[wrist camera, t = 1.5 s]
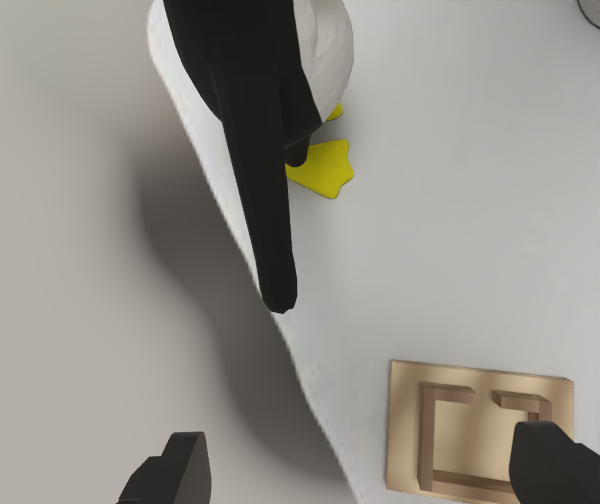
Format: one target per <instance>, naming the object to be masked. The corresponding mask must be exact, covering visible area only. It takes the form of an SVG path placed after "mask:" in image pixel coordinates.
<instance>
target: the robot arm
mask: <svg viewBox="0 0 600 504" xmlns="http://www.w3.org/2000/svg"><path fill="white" fill-rule="evenodd" d="M579 2H580V6H581V9H582V10H583V12H584V14H585V15H586V17H587V18H588V19H589V20H590V21H591V22H592V23H594V24H595V25H597V26H599V27H600V0H579ZM509 478H510V482H511V486H512V488H513V491H514V493H515V495H516V497H517V499H518V500H519V502H520V504H600V455H598V454H597V453H595V452H594V451H592V450H591V449H589V448H588V447H586V446H585V445H583V444H582V443H575V442H574V441H573V440H572V439H571V438H570V437H569V436H568V435H567V434H566V433H565V432H564V431H563V430H562V429H561V428H560V427H559V426H558V425H557V424H556V423H554V422H552V421H549V420H548V421H520V422H517V423H516V425H515V428H514V434H513V441H512V448H511V455H510V462H509ZM210 495H211V472H210V466H209V458H208V452H207V445H206V438H205V434H204V432H175V433H173V434H172V435H171V436H170V439H169V440H168V443H167V445H166V447H165V449H164V451H163V453H162V455H161V456H153V457H149V458H148V459H147V460H146V461H145V462H144V463H143V464H142V465H141V466H140V467H139V468H138V469H137V470H136V471H135V472H134V473H133V474H132V475H131V477H130V478H129V480H128V482H127V484H126V486H125V488H124V490H123V491H122V494H121V495H120V497H119V501H118V503H116V504H209V502H210Z"/></svg>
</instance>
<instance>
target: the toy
mask: <svg viewBox="0 0 600 504" xmlns="http://www.w3.org/2000/svg"><path fill="white" fill-rule="evenodd" d="M163 3H164V7H165V11H166V15H167V18H168V22H169V26H170V29H171V33H172V36H173V40H174V43H175V47H176V49H177V52H178V54H179V57H180V59H181V62H182V65H183V66H184V68H185V70H186V72H187V74H188V75H189V77H190V79H191V81H192V82H193V84H194V86H195V87H196V89H197V91H198V92H199V94H200V96H201V97H202V99H203V100H204V102H205V103H206V105H207V106H208V107H209V109H210V110H211V111H212V112H213V114H214V115H215V116H216V117H217V118H218V119H219V120H220V121H221V122H222V124H223V129H224V133H225V137H226V142H227V146H228V150H229V154H230V158H231V162H232V166H233V170H234V174H235V178H236V182H237V186H238V190H239V195H240V199H241V203H242V207H243V211H244V215H245V219H246V223H247V227H248V231H249V235H250V239H251V244H252V248H253V252H254V256H255V260H256V267H257V273H258V280H259V287H260V291H261V294H262V298H263V301H264V303H265V304H266V306H267V307H268V309H269V310H270V311H272V312H276V313H280V314H284V313H285V312H286V311H287V310H288V309H293V308H294V305H295V302H296V299H297V276H296V269H295V263H294V258H293V253H292V241H291V228H290V213H289V199H288V185H287V177H288V178H289V179H291V180H292V181H295V182H297V183H299V184H301V185H303V186H305V187H307V188H309V189H310V190H312V191H314V192H316V193H318V194H320V195H322V196H325V197H327V198H332V199H333V198H336V197H337V195H338V193H339V190H340V188H341V186H342V185H343V184H345V183H346V182H348V181H349V180H351V179H352V177H353V170H352V168H351V166H350V164H349V162H348V159H347V154H348V149H349V142H348V141H347V140H344V139H341V140H334V141H329V142H324V143H320V144H315V145H311V146H309V141H310V136H311V133H312V132H314V131H315V130H316V129H317V128H319V127H320V126H321V125H322V124H323V123H324V122H325V121H329V120H332V119H335V118H337V117H339V116H340V115H341V114H342V112H343V111H342V106H341V105H340V104H339V100H340V98H341V97H342V95H343V93H344V91H345V89H346V87H347V84H348V80H349V77H350V73H351V70H352V66H353V62H354V54H353V31H352V26H351V21H350V18H349V16H348V13H347V11H346V8H345V6H344V3H343V1H342V0H163Z"/></svg>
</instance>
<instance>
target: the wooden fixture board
mask: <svg viewBox="0 0 600 504" xmlns="http://www.w3.org/2000/svg"><path fill="white" fill-rule="evenodd" d="M548 420H549V421H552V422H554V423H556V424H557V425H558V426H559V427H560V428H561V429H562V430H563V431H564V432H565V433H566V434H567V435H568V436H569V437H570V438H571V439H572V440H573V427H574V382H573V381H570V380H568V379H566V378H558V377H549V376H539V375H530V374H520V373H511V372H502V371H492V370H483V369H474V368H464V367H455V366H445V365H436V364H427V363H417V362H408V361H399V360H391V375H390V397H389V419H388V441H387V463H386V489H389V490H395V491H400V492H406V493H412V494H418V495H423V496H429V497H435V498H441V499H446V500H452V501H458V502H464V503H469V504H520V502H519V500H518V499H517V497H516V495H515V493H514V491H513V488H512V486H511V482H510V478H509V462H510V455H511V448H512V441H513V434H514V428H515V425H516V423H517V422H520V421H548Z"/></svg>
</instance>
